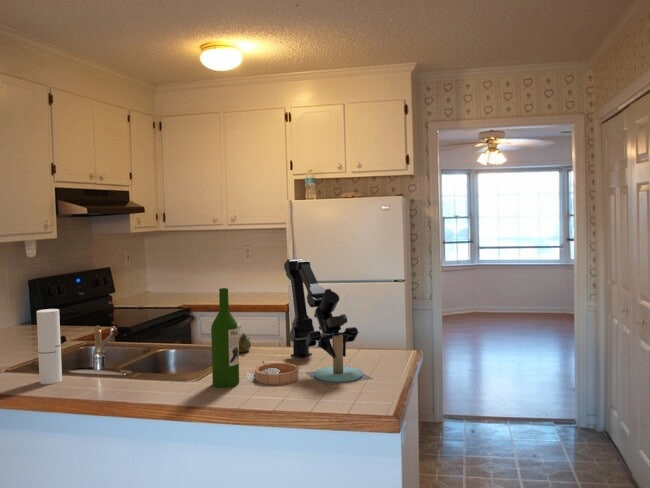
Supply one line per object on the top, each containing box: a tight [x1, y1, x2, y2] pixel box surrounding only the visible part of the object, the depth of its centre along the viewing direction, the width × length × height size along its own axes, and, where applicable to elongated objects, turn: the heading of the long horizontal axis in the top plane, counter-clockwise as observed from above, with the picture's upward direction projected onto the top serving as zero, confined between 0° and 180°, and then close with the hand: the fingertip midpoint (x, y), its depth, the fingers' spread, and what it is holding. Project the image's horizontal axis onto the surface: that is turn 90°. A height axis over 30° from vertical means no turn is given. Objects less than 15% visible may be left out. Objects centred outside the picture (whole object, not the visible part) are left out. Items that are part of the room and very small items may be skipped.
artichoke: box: [238, 332, 252, 353], centre depth 247 cm, size 8×8×8 cm
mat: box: [305, 366, 374, 387], centre depth 207 cm, size 18×18×1 cm
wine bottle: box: [210, 287, 240, 389], centre depth 199 cm, size 9×9×32 cm
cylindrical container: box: [36, 308, 63, 385], centre depth 206 cm, size 7×7×25 cm
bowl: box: [254, 362, 300, 385], centre depth 205 cm, size 15×15×4 cm
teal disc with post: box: [314, 335, 364, 383], centre depth 206 cm, size 17×17×14 cm
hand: (339, 356), depth 205 cm, fingers closed on teal disc with post, 4 cm apart
